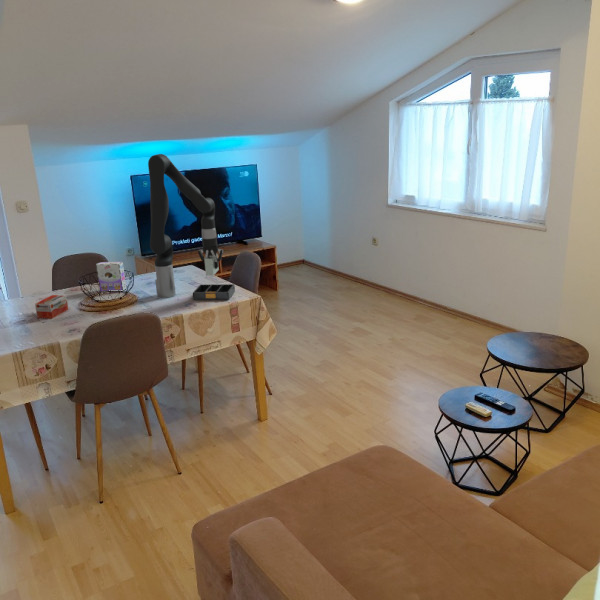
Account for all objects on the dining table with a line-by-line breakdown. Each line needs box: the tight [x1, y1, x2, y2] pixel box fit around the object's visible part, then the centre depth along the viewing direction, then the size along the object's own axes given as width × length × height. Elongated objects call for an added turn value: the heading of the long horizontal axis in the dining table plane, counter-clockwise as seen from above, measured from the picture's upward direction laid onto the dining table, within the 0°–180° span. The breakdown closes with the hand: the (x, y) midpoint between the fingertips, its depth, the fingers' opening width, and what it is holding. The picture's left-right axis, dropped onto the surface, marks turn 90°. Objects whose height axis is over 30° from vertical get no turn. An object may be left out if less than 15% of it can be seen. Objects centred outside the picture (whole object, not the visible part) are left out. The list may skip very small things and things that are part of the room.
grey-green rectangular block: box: [204, 253, 220, 277], centre depth 308 cm, size 4×12×9 cm, turn 174°
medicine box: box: [35, 294, 69, 320], centre depth 293 cm, size 15×8×8 cm, turn 169°
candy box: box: [95, 261, 127, 292], centre depth 328 cm, size 14×6×16 cm, turn 84°
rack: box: [192, 283, 236, 301], centre depth 312 cm, size 19×16×4 cm
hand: (212, 268), depth 308 cm, fingers closed on grey-green rectangular block, 4 cm apart
